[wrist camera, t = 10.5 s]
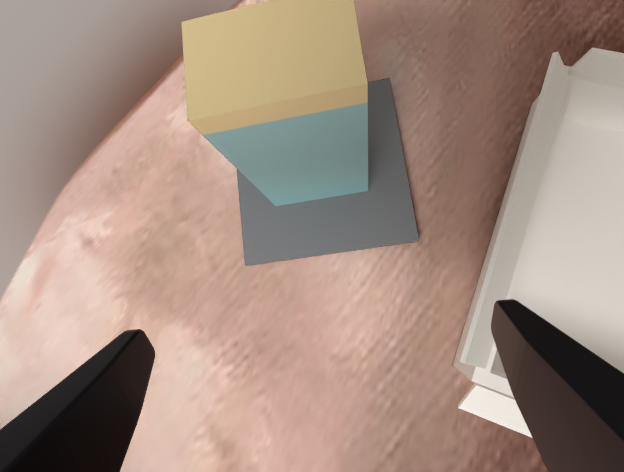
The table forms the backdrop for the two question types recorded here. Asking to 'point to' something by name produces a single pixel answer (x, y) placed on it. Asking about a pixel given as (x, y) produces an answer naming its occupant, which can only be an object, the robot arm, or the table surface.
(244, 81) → the teal box
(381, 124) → the charcoal mat
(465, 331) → the carton
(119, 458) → the robot arm
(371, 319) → the table surface
